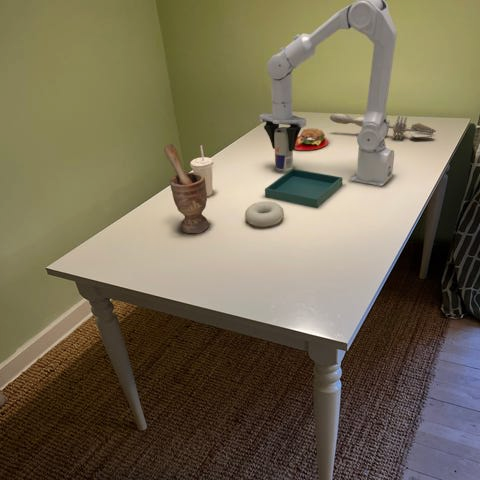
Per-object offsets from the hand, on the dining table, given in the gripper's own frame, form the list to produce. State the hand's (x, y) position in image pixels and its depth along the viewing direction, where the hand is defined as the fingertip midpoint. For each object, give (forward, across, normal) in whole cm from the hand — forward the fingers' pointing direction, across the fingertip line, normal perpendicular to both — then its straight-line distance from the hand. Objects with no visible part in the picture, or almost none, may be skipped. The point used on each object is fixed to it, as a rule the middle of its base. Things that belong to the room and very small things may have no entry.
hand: (283, 148), depth 144 cm
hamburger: (+7, -4, +22) cm, 23 cm away
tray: (+6, +13, -11) cm, 18 cm away
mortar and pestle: (+7, -4, -41) cm, 42 cm away
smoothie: (+7, -12, -24) cm, 28 cm away
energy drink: (+7, 0, 0) cm, 7 cm away
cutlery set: (+7, +16, +36) cm, 40 cm away
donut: (+7, +12, -30) cm, 33 cm away
